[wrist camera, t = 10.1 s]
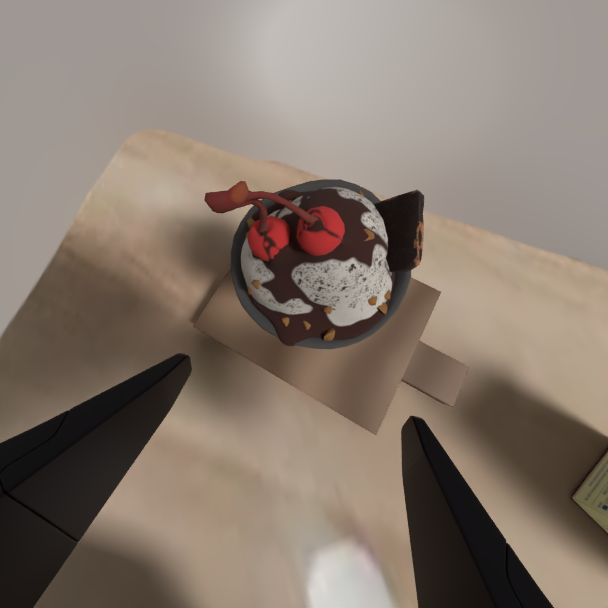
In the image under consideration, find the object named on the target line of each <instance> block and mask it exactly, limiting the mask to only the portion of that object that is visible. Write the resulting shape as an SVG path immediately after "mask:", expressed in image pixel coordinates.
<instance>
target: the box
mask: <svg viewBox="0 0 608 608" xmlns="http://www.w3.org/2000/svg"><path fill="white" fill-rule="evenodd" d="M572 498H573V500H574V501H575V502H576V503H577V504H578V505H579V506H580V507H581V508H582V509H584V510H585V511H586V512H587V513H588V514H589V515H590V516H591V517H592V518H593V519H594V520H595V521H596V522H597V523H598V524H599V525H600V526H601V527H602V528H603V529H604V530H605V531H606V532H607V533H608V451H607V452H606V453H605V455H604V456H603V457H602V458H601V460H600V461H599V462H598V464H597V465H596V466H595V467H594V469H593V470H592V471H591V473H590V474H589V475H588V476H587V478H586V479H585V480H584V482H583V483H582V485H581V486H580V487H579V489H578V490H577V491H576V493H575V494H574V495H573V496H572Z"/></svg>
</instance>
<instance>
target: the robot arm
mask: <svg viewBox="0 0 608 608" xmlns="http://www.w3.org/2000/svg"><path fill="white" fill-rule="evenodd" d="M191 370H192V367H191V361H190V357H189V356H188V355H185V354H182V353H179V354H176V355H174V356H172V357H170V358H168V359H166V360H164V361H162V362H161V363H159V364H157V365H155V366H153V367H151V368H149V369H147V370H145V371H143V372H141V373H139V374H137V375H135V376H133V377H131V378H130V379H128V380H126V381H124V382H122V383H120V384H118V385H116V386H114V387H112V388H110V389H108V390H106V391H104V392H102V393H101V394H99V395H97V396H95V397H93V398H91V399H89V400H87V401H85V402H83V403H81V404H79V405H77V406H75V407H73V408H71V409H70V411H65V412H64V413H62V414H60V415H58V416H56V417H54V418H52V419H50V420H48V421H46V422H44V423H42V424H40V425H38V426H36V427H34V428H32V429H30V430H28V431H25V432H23V433H21V434H19V435H17V436H15V437H13V438H10V439H8V440H6V441H4V442H2V443H0V608H33V607H34V605H35V604H36V603H37V601H38V600H39V598H40V597H41V595H42V594H43V592H44V591H45V590H46V588H47V587H48V585H49V584H50V582H51V581H52V580H53V578H54V577H55V575H56V574H57V572H58V571H59V569H60V568H61V567H62V565H63V564H64V562H65V561H66V559H67V558H68V556H69V555H70V554H71V552H72V551H73V549H74V548H75V546H76V545H77V543H78V541H79V540H80V539H81V538H82V536H83V535H84V533H85V532H86V530H87V529H88V527H89V526H90V525H91V523H92V522H93V520H94V519H95V517H96V516H97V514H98V513H99V512H100V510H101V509H102V507H103V506H104V504H105V503H106V502H107V500H108V499H109V497H110V496H111V494H112V493H113V491H114V490H115V489H116V487H117V486H118V484H119V483H120V481H121V480H122V479H123V477H124V476H125V474H126V473H127V471H128V470H129V468H130V467H131V466H132V464H133V463H134V461H135V460H136V458H137V457H138V456H139V454H140V453H141V451H142V450H143V448H144V447H145V445H146V444H147V443H148V441H149V440H150V438H151V437H152V435H153V434H154V433H155V431H156V430H157V428H158V427H159V425H160V424H161V422H162V421H163V420H164V418H165V417H166V415H167V414H168V412H169V411H170V409H171V408H172V406H173V404H174V403H175V401H176V399H177V397H178V395H179V394H180V392H181V390H182V388H183V386H184V385H185V383H186V381H187V379H188V377H189V376H190V374H191ZM401 441H402V477H403V486H404V494H405V503H406V511H407V519H408V527H409V535H410V543H411V551H412V559H413V568H414V576H415V584H416V592H417V600H418V608H554V607H553V606H552V604H551V603H550V602H549V600H548V599H547V598H546V596H545V595H544V594H543V592H542V591H541V590H540V588H539V587H538V585H537V584H536V583H535V581H534V580H533V578H532V577H531V575H530V574H529V573H528V571H527V570H526V568H525V567H524V565H523V564H522V563H521V561H520V560H519V558H518V557H517V555H516V554H515V552H514V551H513V549H512V548H511V547H510V545H509V544H508V543H506V539H505V538H504V536H503V535H502V534H501V532H500V531H499V529H498V528H497V526H496V525H495V523H494V522H493V520H492V519H491V517H490V516H489V515H488V513H487V512H486V510H485V509H484V507H483V506H482V504H481V503H480V501H479V500H478V498H477V497H476V496H475V494H474V493H473V491H472V490H471V488H470V487H469V485H468V484H467V482H466V481H465V479H464V478H463V477H462V475H461V474H460V472H459V471H458V469H457V468H456V466H455V465H454V463H453V462H452V460H451V459H450V458H449V456H448V455H447V453H446V452H445V450H444V449H443V447H442V446H441V444H440V443H439V441H438V440H437V438H436V437H435V436H434V434H433V433H432V431H431V430H430V428H429V427H428V425H427V424H426V422H425V421H424V420H423V419H422V418H419V417H416V416H410V417H409V418H408V420H407V421H406V423H405V424H404V425H403V427H402V431H401Z"/></svg>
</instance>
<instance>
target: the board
mask: <svg viewBox="0 0 608 608" xmlns="http://www.w3.org/2000/svg"><path fill="white" fill-rule="evenodd" d="M440 293H441V292H440V291H438V290H436V289H434V288H432V287H430V286H428V285H426V284H424V283H422V282H420V281H418V280H416V279H413V278H411V279H410V282H409V286H408V289H407V292H406V295H405V297H404V299H403V300H402V302H401V304H400V306H399V308H398V310H397V311H396V312H395V313H394V315H393V316H392V317H391V318H390V319H389V320H388V321H387V322H386V323H385V324H384V325H383V326H382V327H381V328H380V329H379V330H377V331H376V332H375V333H374V334H373V335H371V336H369V337H367V338H366V339H364V340H362V341H360V342H358V343H355V344H352V345H349V346H347V347H342V348H336V349H314V348H308V347H302V346H296V345H295V346H286V345H284V344H283V343H282V342H281V341H280V340H279V338H277V337H276V336H274V335H272V334H270V333H269V332H267V331H265V330H263V329H262V328H261V327H260V326H259V325H258V324H257V323H256V322H255V321H254V320H253V319H252V318H251V317H250V316H249V315H248V313H247V312H246V311H245V310H244V308H243V307H242V305H241V303H240V301H239V299H238V297H237V294H236V291H235V288H234V284H233V280H232V273H231V269H230V270H229V272H228V273H227V275H226V277H225V278H224V280H223V281H222V283H221V284H220V286H219V287H218V289H217V290H216V292H215V293H214V295H213V296H212V298H211V300H210V301H209V303H208V304H207V306H206V307H205V309H204V310H203V312H202V313H201V315H200V316H199V318H198V320H197V321H196V323H195V324H194V326H193V327H195V328H196V329H198V330H200V331H201V332H203V333H205V334H206V335H208V336H210V337H211V338H213V339H215V340H217V341H218V342H220V343H222V344H223V345H225V346H227V347H228V348H230V349H232V350H233V351H235V352H237V353H238V354H240V355H242V356H243V357H245V358H247V359H248V360H250V361H252V362H254V363H255V364H257V365H259V366H260V367H262V368H264V369H265V370H267V371H269V372H270V373H272V374H274V375H275V376H277V377H279V378H280V379H282V380H284V381H285V382H287V383H289V384H291V385H292V386H294V387H296V388H297V389H299V390H301V391H302V392H304V393H306V394H307V395H309V396H311V397H312V398H314V399H316V400H317V401H319V402H321V403H322V404H324V405H326V406H328V407H329V408H331V409H333V410H334V411H336V412H338V413H339V414H341V415H343V416H344V417H346V418H348V419H349V420H351V421H353V422H354V423H356V424H358V425H359V426H361V427H363V428H365V429H366V430H368V431H370V432H371V433H373V434H375V435H376V434H377V432H378V430H379V428H380V426H381V423H382V421H383V419H384V417H385V415H386V412H387V410H388V408H389V406H390V404H391V401H392V399H393V397H394V395H395V393H396V390H397V388H398V386H399V384H400V382H401V381H403V382H405V383H407V384H408V385H410V386H412V387H414V388H416V389H417V390H419V391H421V392H423V393H425V394H426V395H428V396H430V397H432V398H434V399H436V400H437V401H439V402H441V403H443V404H446V405H449V406H451V407H453V406H454V404H455V401H456V399H457V396H458V394H459V391H460V389H461V386H462V384H463V382H464V379H465V377H466V374H467V372H468V369H469V367H468V366H466V365H464V364H462V363H460V362H459V361H457V360H455V359H453V358H451V357H449V356H447V355H445V354H443V353H441V352H440V351H438V350H436V349H434V348H432V347H430V346H428V345H426V344H424V343H422V342H420V341H419V340H420V337H421V335H422V333H423V331H424V329H425V326H426V324H427V322H428V320H429V318H430V315H431V313H432V311H433V309H434V307H435V304H436V302H437V300H438V298H439V296H440Z"/></svg>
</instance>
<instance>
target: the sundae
mask: <svg viewBox="0 0 608 608" xmlns="http://www.w3.org/2000/svg"><path fill="white" fill-rule="evenodd" d="M258 199H262V200H261V201H260V200H258ZM205 202H206V203H207V204H208V206H209V207H210V208H211V209H212V211H214V212H216V213H225V212H228V211H231V210H234V209H236V208H240V207H243V206H246V205H250V204H253V205H254V206H253V207H252V208H251V209H250V210H249V211H248V213H247V214H246V215H245V217H244V218H243V220H242V221H241V223H240V225H239V227H238V229H237V231H236V233H235V235H234V240H233V246H232V251H231V273H232V280H233V284H234V288H235V291H236V294H237V297H238V299H239V301H240V303H241V305H242V307H243V308H244V310H245V311H246V312H247V313H248V315H249V316H250V317H251V318H252V319H253V320H254V321H255V322H256V323H257V324H258V325H259V326H260V327H261V328H262V329H263V330H265V331H267V332H269V333H270V334H272V335H274V336H276V337H277V338H279V340H280V341H281V342H282V343H283V344H284V345H286V346H295V345H296V346H302V347H308V348H314V349H336V348H342V347H347V346H349V345H352V344H355V343H358V342H360V341H362V340H364V339H366V338H367V337H369V336H371V335H373V334H374V333H375V332H376V331H377V330H379V329H380V328H381V327H382V326H383V325H384V324H385V323H386V322H387V321H388V320H389V319H390V318H391V317H392V316H393V315H394V313H395V312H396V311H397V310H398V308H399V306H400V304H401V302H402V300H403V299H404V297H405V295H406V292H407V289H408V286H409V282H410V279H411V270H412V269H413V268H415V267H416V266H418V265H419V264H420V262H421V257H422V248H423V236H424V223H423V207H424V195H423V194H421V192H420V191H418V190H415V191H412V192H409V193H405V194H402V195H399V196H395V197H392V198H390V199H387V200H384V201H380V200H379V199H378V198H377V197H376V196H375V195H374V194H373V193H372V192H370V191H368V190H366V189H364V188H362V187H360V186H358V185H356V184H353V183H350V182H346V181H343V180H317V181H310V182H306V183H303V184H299V185H296V186H293V187H290V188H287V189H284V190H281V191H278V192H275V193H269V192H264V191H259V192H251V191H249V190H248V187H247V185H246V182H245V181H240V182H239V183H237V184H236V185H234V186H233V187H232V188H230V189H229V190H227V191H219V192H210V193H206V194H205Z"/></svg>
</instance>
